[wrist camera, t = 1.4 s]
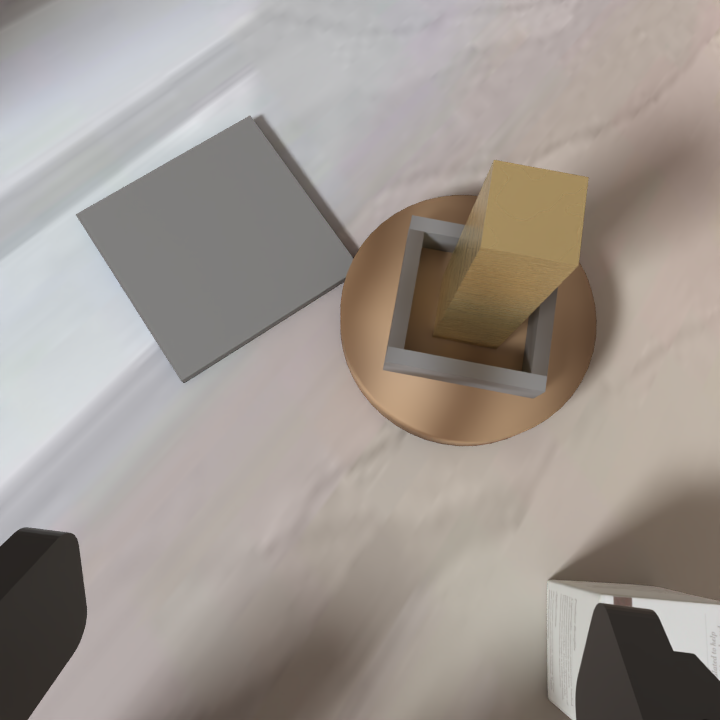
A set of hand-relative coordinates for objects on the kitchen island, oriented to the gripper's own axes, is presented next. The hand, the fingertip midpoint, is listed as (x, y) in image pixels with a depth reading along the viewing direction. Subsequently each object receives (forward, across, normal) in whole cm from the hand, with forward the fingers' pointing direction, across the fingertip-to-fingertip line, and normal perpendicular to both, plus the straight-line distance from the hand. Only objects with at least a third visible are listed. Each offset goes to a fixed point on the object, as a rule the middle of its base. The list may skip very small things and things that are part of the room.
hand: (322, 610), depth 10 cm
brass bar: (+26, -4, +2) cm, 26 cm away
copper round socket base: (+28, -3, +4) cm, 28 cm away
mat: (+28, +11, 0) cm, 31 cm away
